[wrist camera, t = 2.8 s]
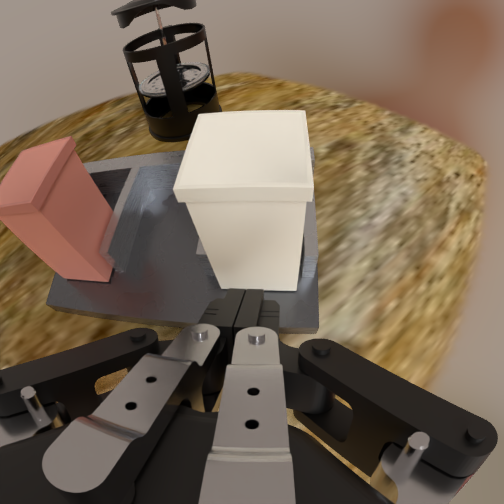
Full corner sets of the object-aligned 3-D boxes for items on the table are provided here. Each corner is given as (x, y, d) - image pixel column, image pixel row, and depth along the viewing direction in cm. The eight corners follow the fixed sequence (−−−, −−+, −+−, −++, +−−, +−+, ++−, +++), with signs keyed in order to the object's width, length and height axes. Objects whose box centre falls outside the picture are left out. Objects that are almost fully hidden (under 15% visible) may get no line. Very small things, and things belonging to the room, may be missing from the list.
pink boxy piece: (110, 284, 21) (30, 202, 12) (61, 280, 21) (-15, 210, 13) (127, 226, 23) (71, 136, 15) (80, 227, 24) (22, 150, 15)
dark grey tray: (315, 333, 19) (325, 312, 15) (55, 310, 22) (24, 289, 18) (309, 181, 26) (312, 143, 23) (100, 189, 29) (81, 160, 25)
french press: (229, 133, 31) (195, -67, 11) (148, 154, 31) (82, -32, 11) (215, 90, 37) (188, -57, 18) (151, 106, 37) (108, -34, 17)
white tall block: (299, 293, 19) (313, 187, 11) (218, 291, 20) (172, 189, 11) (298, 226, 22) (305, 110, 13) (226, 225, 22) (198, 114, 14)
